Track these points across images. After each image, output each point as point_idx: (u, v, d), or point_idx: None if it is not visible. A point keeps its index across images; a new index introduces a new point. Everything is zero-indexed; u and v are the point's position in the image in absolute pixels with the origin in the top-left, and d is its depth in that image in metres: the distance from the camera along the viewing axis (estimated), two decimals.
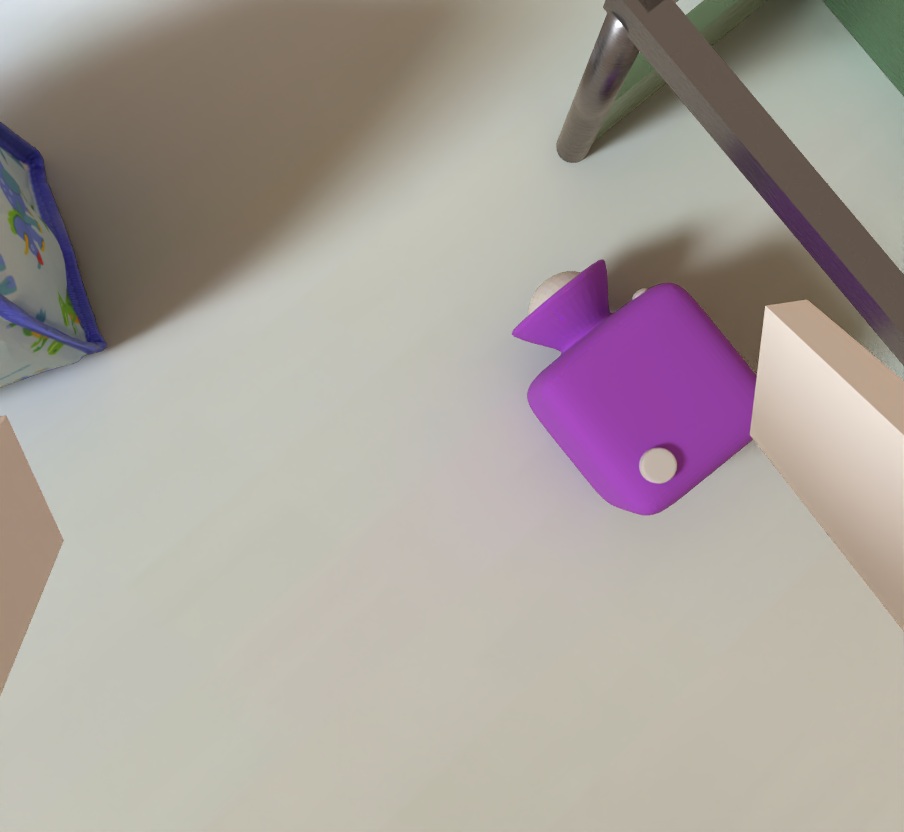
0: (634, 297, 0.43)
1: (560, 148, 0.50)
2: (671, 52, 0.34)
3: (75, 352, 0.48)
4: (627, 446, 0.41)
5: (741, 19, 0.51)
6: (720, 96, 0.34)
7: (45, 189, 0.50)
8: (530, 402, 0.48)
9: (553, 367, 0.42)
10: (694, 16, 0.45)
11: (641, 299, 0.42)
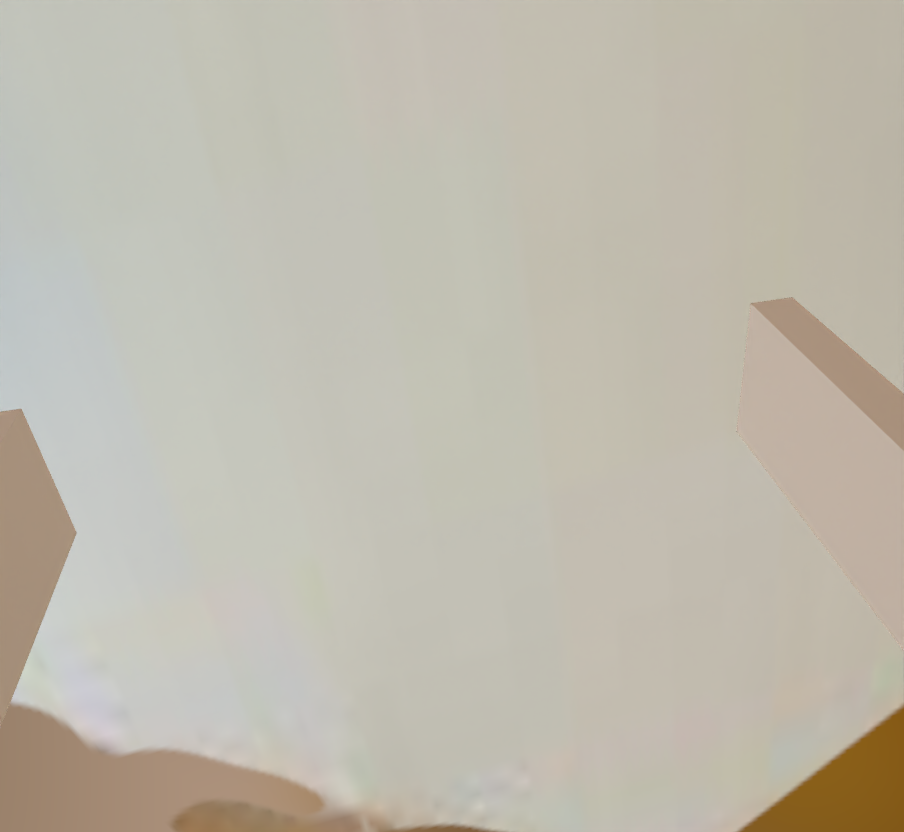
0: None
1: None
2: None
3: None
4: None
5: None
6: None
7: None
8: None
9: None
10: None
11: None
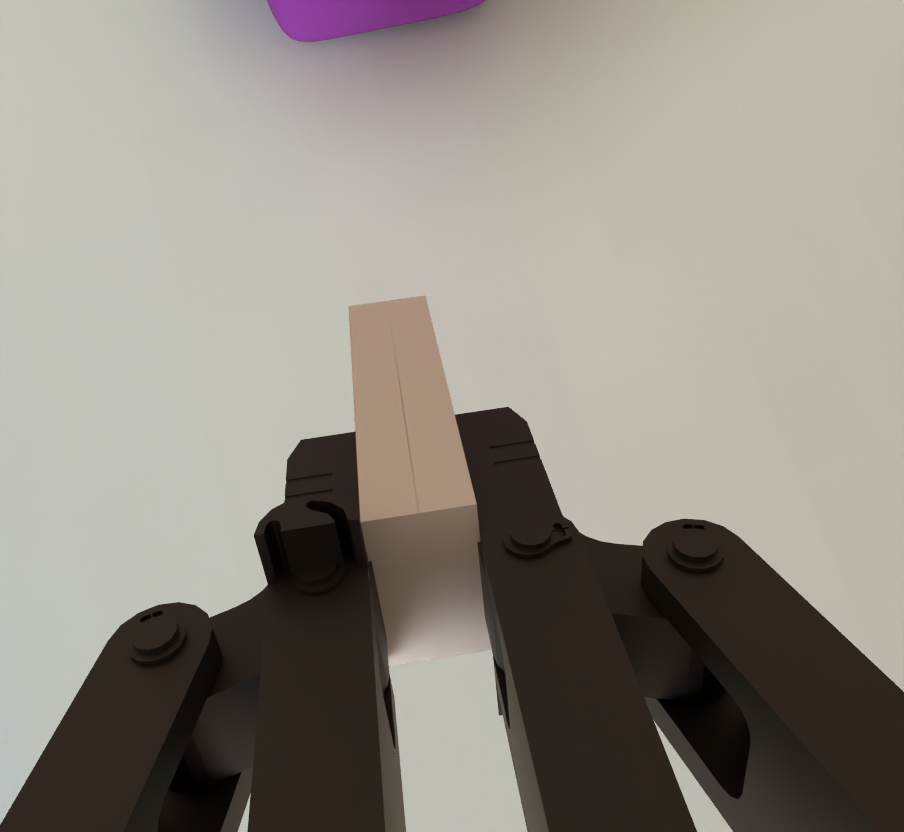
0: None
1: None
2: None
3: None
4: None
5: None
6: None
7: None
8: (294, 11, 0.32)
9: None
10: None
11: None
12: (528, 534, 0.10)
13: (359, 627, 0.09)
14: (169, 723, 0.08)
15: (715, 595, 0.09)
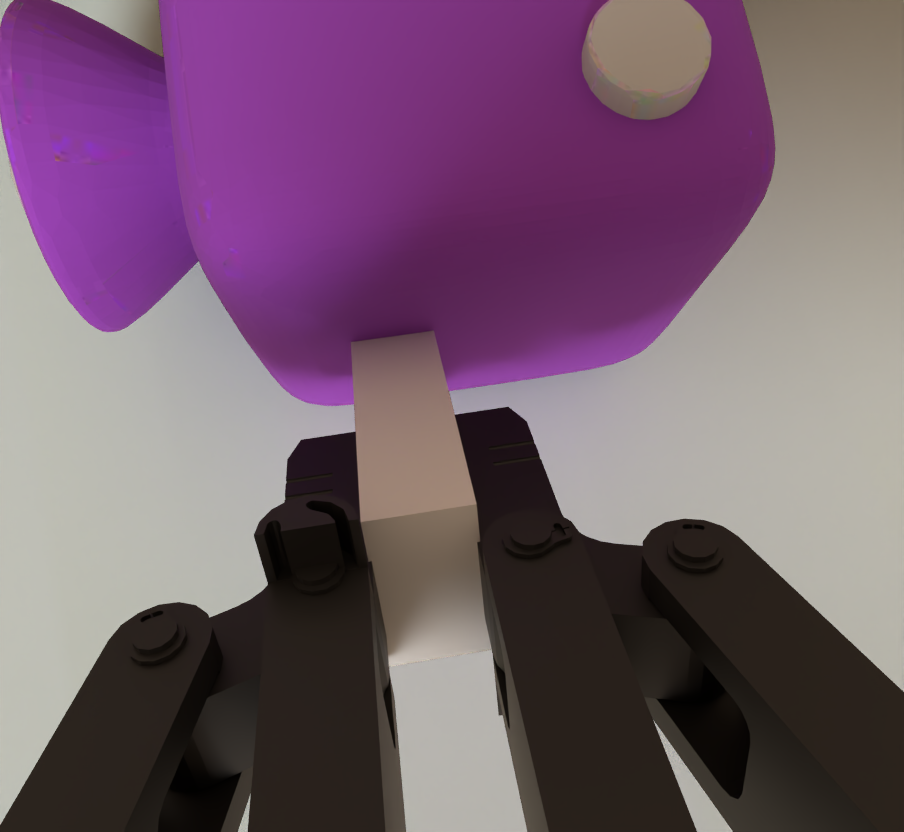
0: None
1: None
2: None
3: None
4: (536, 109, 0.12)
5: None
6: None
7: None
8: (304, 390, 0.18)
9: (184, 215, 0.12)
10: None
11: None
12: (528, 534, 0.10)
13: (359, 627, 0.09)
14: (169, 723, 0.08)
15: (714, 595, 0.09)
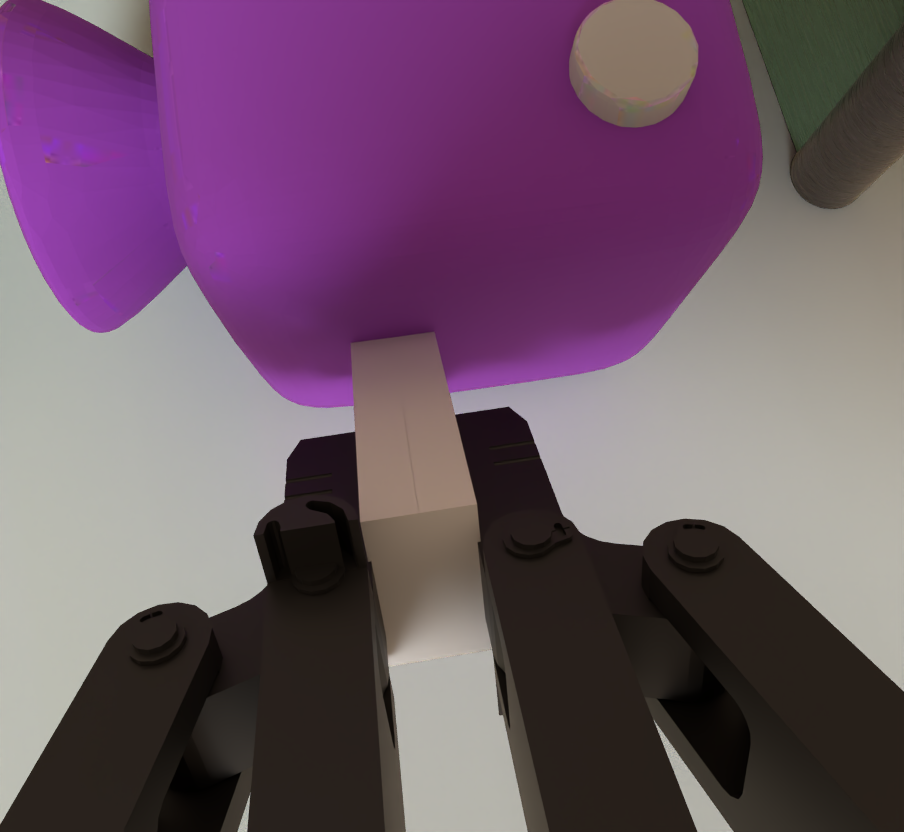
0: None
1: None
2: None
3: None
4: (524, 117, 0.12)
5: None
6: None
7: None
8: (295, 392, 0.18)
9: (172, 218, 0.13)
10: None
11: None
12: (528, 535, 0.10)
13: (359, 627, 0.09)
14: (169, 723, 0.08)
15: (715, 595, 0.09)
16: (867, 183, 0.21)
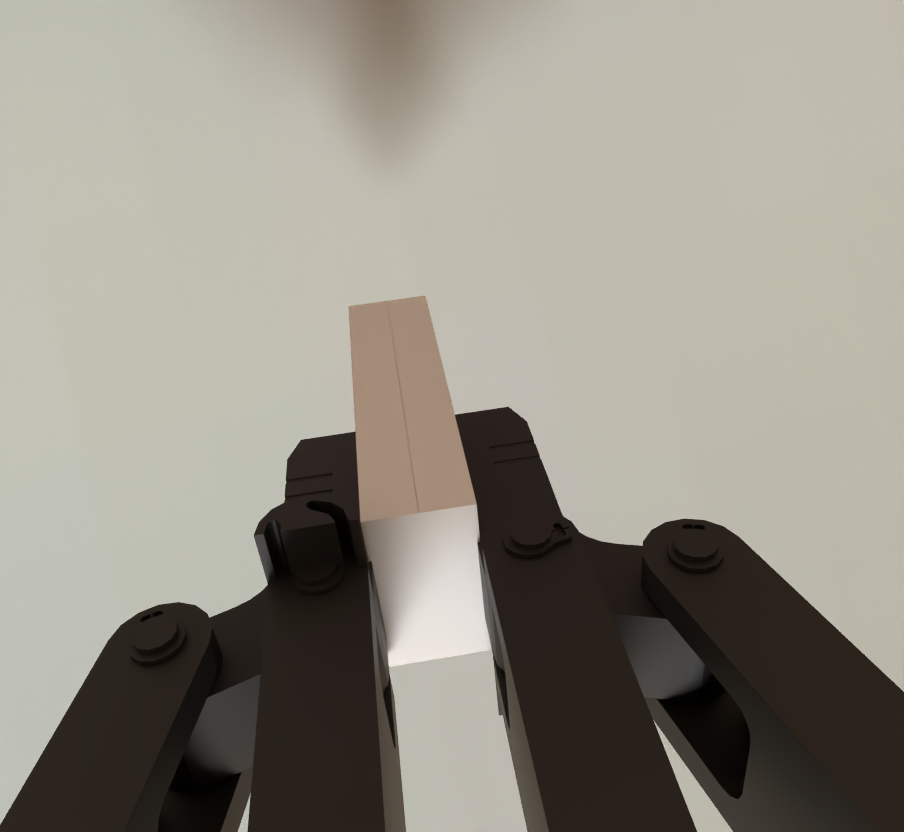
0: None
1: None
2: None
3: None
4: None
5: None
6: None
7: None
8: None
9: None
10: None
11: None
12: (528, 535, 0.10)
13: (359, 627, 0.09)
14: (169, 723, 0.08)
15: (714, 595, 0.09)
16: None
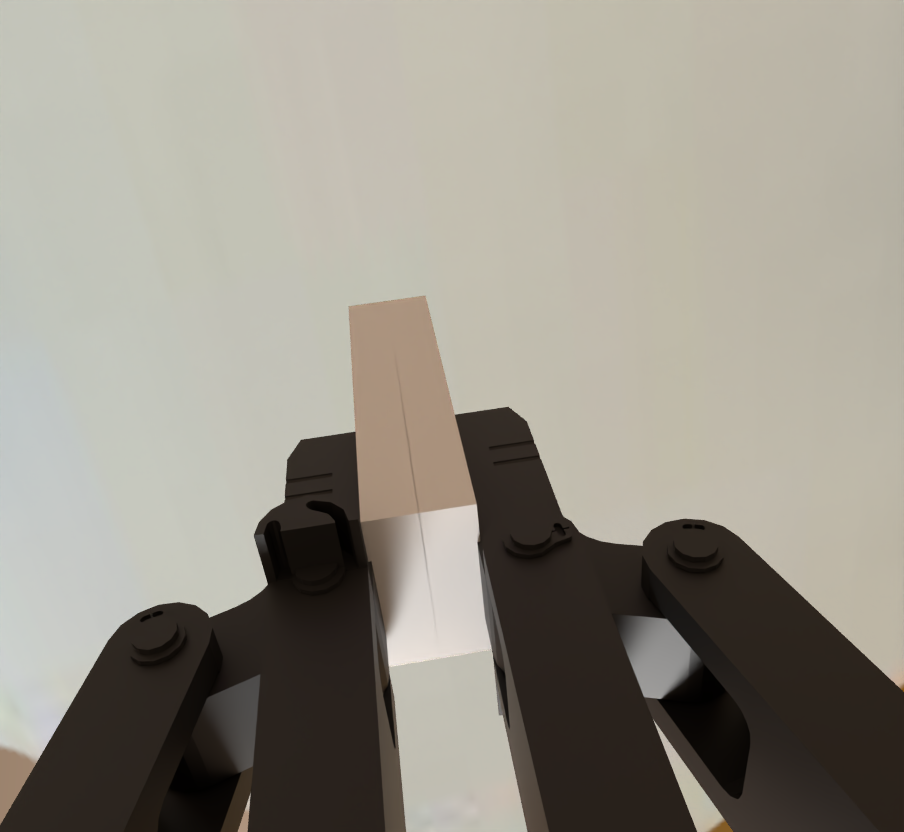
0: None
1: None
2: None
3: None
4: None
5: None
6: None
7: None
8: None
9: None
10: None
11: None
12: (528, 534, 0.10)
13: (359, 627, 0.09)
14: (169, 723, 0.08)
15: (714, 595, 0.09)
16: None
